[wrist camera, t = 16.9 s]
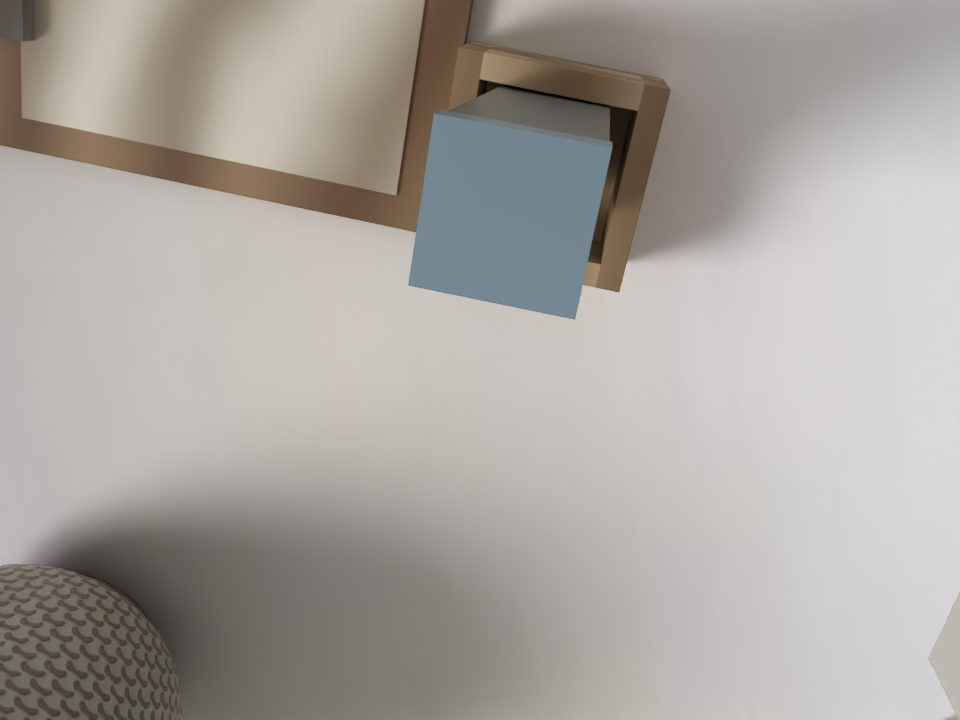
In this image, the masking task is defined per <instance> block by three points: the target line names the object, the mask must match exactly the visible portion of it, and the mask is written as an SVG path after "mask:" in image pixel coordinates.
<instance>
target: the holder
mask: <svg viewBox="0 0 960 720" xmlns="http://www.w3.org/2000/svg"><path fill="white" fill-rule="evenodd" d="M502 85H510V86H515V87H520V88H526V89H531V90H536V91H541V92H546V93H551V94H556V95H561V96H566V97H571V98H576V99H581V100H586V101H591V102H595V103H600V104H605V105H610V142H612V152H611V156H610V161H609V166H608V170H607V175H606V179H605V184H604V189H603V193H602V198H601V202H600V207H599V211H598V216H597V221H596V225H595V230H594V234H593V239H592V244H591V248H590V253H589V257H588V262H587V266H586V271H585V276H584V280H583V285H587V286H591V287H596V288H601V289H606V290H610V291H615V292H619V291H620V287H621V283H622V279H623V275H624V271H625V267H626V263H627V259H628V255H629V251H630V247H631V243H632V239H633V235H634V231H635V228H636V224H637V220H638V216H639V212H640V208H641V204H642V200H643V196H644V192H645V188H646V184H647V180H648V176H649V172H650V168H651V165H652V161H653V157H654V153H655V149H656V145H657V141H658V137H659V133H660V129H661V125H662V121H663V117H664V113H665V109H666V105H667V102H668V98H669V94H670V88H669V87H668V86H667V84H666V83H665V82H664V80H662V79H657V78H652V77H647V76H642V75H637V74H633V73H628V72H623V71H618V70H613V69H608V68H603V67H598V66H593V65H588V64H583V63H578V62H573V61H568V60H563V59H558V58H553V57H548V56H543V55H538V54H533V53H528V52H523V51H518V50H513V49H508V48H503V47H498V46H493V45H488V44H483V43H478V42H473V41H472V42H470V43H467V44H465V45H463V46H460V47H459V48H458V54H457V60H456V66H455V72H454V78H453V84H452V91H451V97H450V103H449V109H448V111H449V110H451V109H453V108H455V107H457V106H460V105H462V104H464V103H466V102H468V101H470V100H472V99H474V98H477V97H479V96H481V95H483V94H485V93H487V92H489V91H491V90H494V89H496V88H498V87H500V86H502Z"/></svg>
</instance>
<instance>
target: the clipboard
mask: <svg viewBox="0 0 960 720" xmlns="http://www.w3.org/2000/svg"><path fill="white" fill-rule="evenodd" d="M472 5H473V0H0V145H3V146H7V147H12V148H17V149H22V150H27V151H31V152H36V153H41V154H46V155H50V156H55V157H60V158H65V159H70V160H74V161H79V162H84V163H89V164H93V165H98V166H103V167H108V168H113V169H117V170H122V171H127V172H132V173H136V174H141V175H146V176H151V177H156V178H160V179H165V180H170V181H175V182H179V183H184V184H189V185H194V186H199V187H203V188H208V189H213V190H218V191H222V192H227V193H232V194H237V195H242V196H246V197H251V198H256V199H261V200H265V201H270V202H275V203H280V204H285V205H289V206H294V207H299V208H304V209H308V210H313V211H318V212H323V213H327V214H332V215H337V216H342V217H347V218H351V219H356V220H361V221H366V222H370V223H375V224H380V225H385V226H390V227H394V228H399V229H404V230H409V231H413V232H416V231H417V224H418V217H419V211H420V204H421V197H422V191H423V184H424V177H425V170H426V164H427V157H428V150H429V143H430V137H431V130H432V123H433V116H434V113H436V112H438V111H441V110H447V111H448V109H449V103H450V97H451V91H452V84H453V78H454V72H455V66H456V60H457V54H458V48H459V47H460V46H463V45H465V44H466V41H467V35H468V29H469V23H470V17H471V11H472Z"/></svg>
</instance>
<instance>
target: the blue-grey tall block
mask: <svg viewBox="0 0 960 720" xmlns="http://www.w3.org/2000/svg"><path fill="white" fill-rule="evenodd" d="M611 152H612V142H610V105H605V104H600V103H595V102H591V101H586V100H581V99H576V98H571V97H566V96H561V95H556V94H551V93H546V92H541V91H536V90H531V89H526V88H520V87H515V86H510V85H502V86H500V87H498V88H496V89H494V90H491V91H489V92H487V93H485V94H483V95H481V96H479V97H477V98H474V99H472V100H470V101H468V102H466V103H464V104H462V105H460V106H457V107H455V108H453V109H451V110H449V111H447V110H441V111H438V112H436V113H434V116H433V123H432V130H431V137H430V143H429V150H428V157H427V164H426V170H425V177H424V184H423V191H422V197H421V204H420V211H419V217H418V224H417V231H416V238H415V244H414V251H413V258H412V265H411V271H410V278H409V286H414V287H419V288H424V289H428V290H433V291H438V292H443V293H448V294H453V295H458V296H463V297H468V298H473V299H477V300H482V301H487V302H492V303H497V304H502V305H507V306H512V307H517V308H521V309H526V310H531V311H536V312H541V313H546V314H551V315H556V316H561V317H565V318H570V319H575V317H576V312H577V308H578V303H579V298H580V294H581V289H582V285H583V280H584V276H585V271H586V266H587V262H588V257H589V253H590V248H591V244H592V239H593V234H594V230H595V225H596V221H597V216H598V211H599V207H600V202H601V198H602V193H603V189H604V184H605V179H606V175H607V170H608V166H609V161H610V156H611Z"/></svg>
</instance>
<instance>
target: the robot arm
mask: <svg viewBox="0 0 960 720" xmlns="http://www.w3.org/2000/svg"><path fill="white" fill-rule="evenodd" d="M928 659H929V661H930V663H931V665H932V667H933V669H934V671H935V673H936V675H937V677H938V679H939V681H940V683H941V685H942V687H943V689H944V691H945V693H946V695H947V697H948V699H949V701H950V703H951V705H952V707H953V709H954V711H955V713H956V715H957V717H958V719H959V720H960V592H959V594H958V596H957V599H956V601H955V603H954V605H953V607H952V609H951V611H950V613H949V616H948V618H947V620H946V622H945V624H944V626H943V628H942V630H941V632H940V635H939V637H938V639H937V641H936V643H935V645H934V647H933V649H932V652H931V654H930V656H929V658H928Z"/></svg>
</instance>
